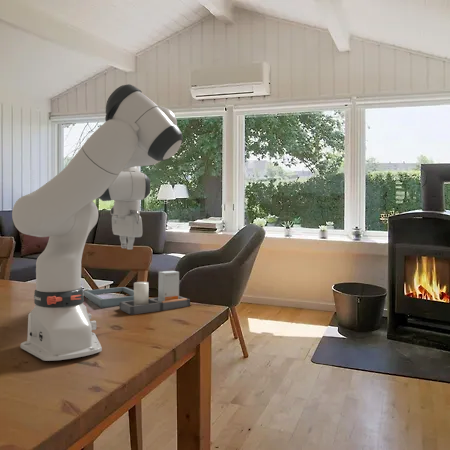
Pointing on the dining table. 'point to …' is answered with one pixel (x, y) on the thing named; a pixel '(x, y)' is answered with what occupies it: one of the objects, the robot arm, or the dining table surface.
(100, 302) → the slate tray
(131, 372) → the dining table surface
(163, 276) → the skincare box
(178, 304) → the slot holder
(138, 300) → the ceramic jar
